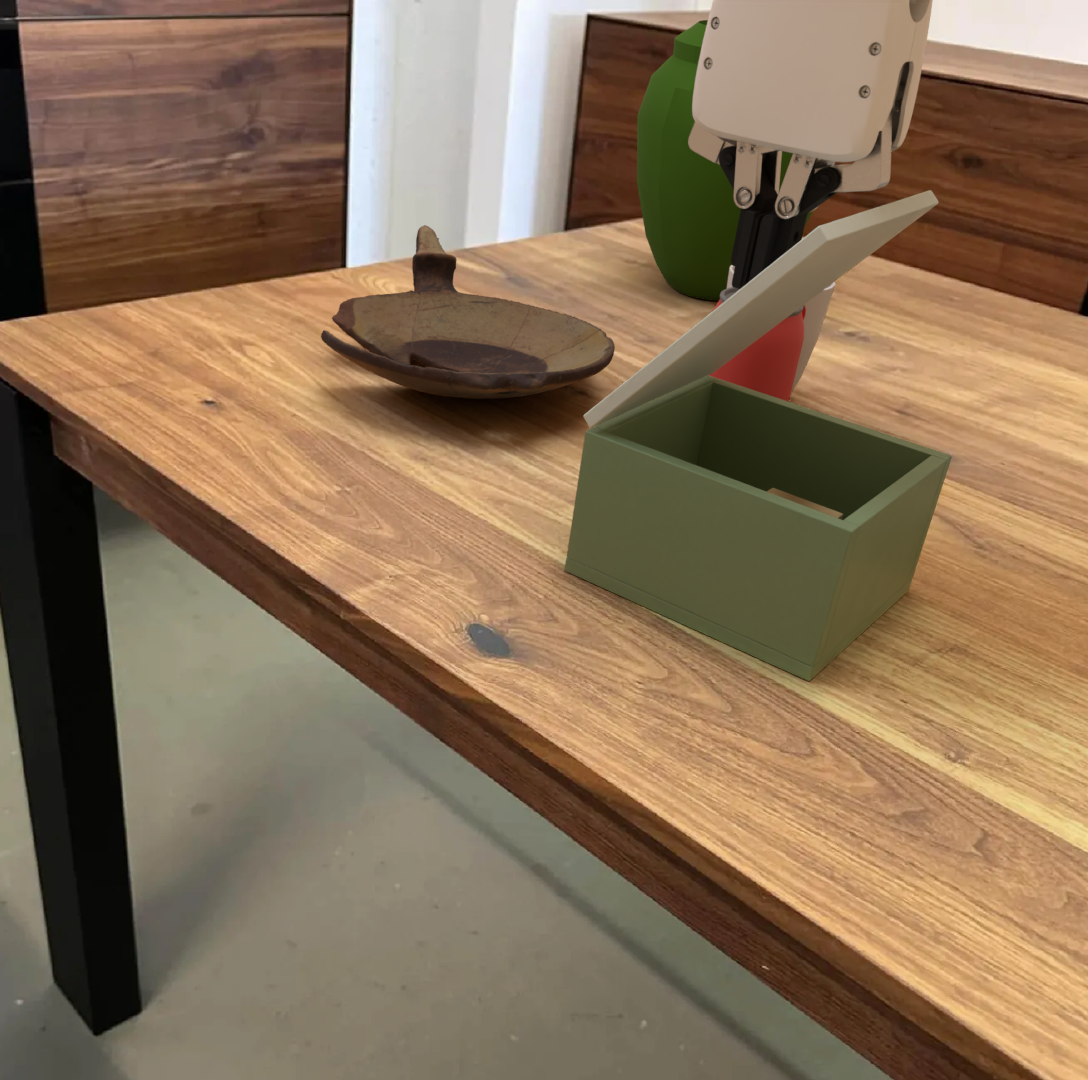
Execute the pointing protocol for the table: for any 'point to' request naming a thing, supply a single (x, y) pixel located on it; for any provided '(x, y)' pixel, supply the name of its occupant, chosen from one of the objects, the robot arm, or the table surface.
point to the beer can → (767, 357)
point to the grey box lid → (764, 303)
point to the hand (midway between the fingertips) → (758, 286)
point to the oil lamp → (465, 337)
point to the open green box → (753, 519)
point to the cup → (806, 323)
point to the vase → (684, 181)
